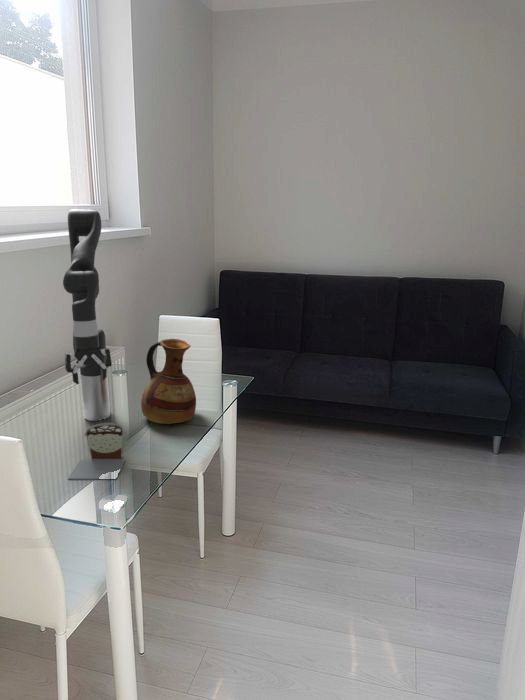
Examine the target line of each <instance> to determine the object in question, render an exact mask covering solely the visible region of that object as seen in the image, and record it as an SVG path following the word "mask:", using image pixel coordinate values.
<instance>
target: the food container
mask: <svg viewBox="0 0 525 700" xmlns="http://www.w3.org/2000/svg"><path fill="white" fill-rule="evenodd" d="M84 437H86V439H87V445H88V450H89V454H90V458H91V459H90V460H123V453H124V452H123V450H124V449H123V448H124V447H123V446H124V438H125V437H126V431H125V429H124V427H123V426H122V425H121V424H118V423H115V422H102V423H97V424H94V425H92V426H90V427H88V428H87V429H85V432H84Z"/></svg>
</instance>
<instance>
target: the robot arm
mask: <svg viewBox="0 0 525 700" xmlns="http://www.w3.org/2000/svg"><path fill="white" fill-rule="evenodd" d="M67 228H68V229H67V230H68V238H69V248H70V264H69V267H68V269H67V270H66V272H65V273H64V276H63V280H62V285H63V286H62V287H63V288H64V290H65V291H66V292H67V293H69V294H71V295H72V298H71V299H72V304H71V312H72V322H73V324H72V346H73V353H69V352H66V353H64V363H65V364H64V366H65V367H64V368H65V371H66V372H67V373H71V375H72V381H73V383H74V384H75V385H79V373H80V382H81V393H82V394H81V395H82V405H83V406H82V407H83V415H84V416H85V417H84V419H85V420H86V421H90V422H96V421H97V420H99V421H101V420H100V419H104V418H106V419H108V418H110V416H111V407H110V403H111V402H110V395H109V394H110V393H109V391H110V390H109V382H108V381H109V380H108V368H109V367H112V363H113V362H112V358H111V351H110V349H109V348H108V347H106V344H107V343H106V335H105V331H104V330H103V329H101V328H98V323H97V315H96V300H97V298H98V295H99V293H100V278H99V273H98V271H97V268H96V267H95V258H96V257H95V256H96V250H97V247H98V244H99V241H100V236H101V232H102V218H101V214H100V212H99V211H98V210H95V209H81V208H80V209H79V208H78V209H77V208H76V209H75V208H74V209H73V208H72V209H70V210H69V211H68V213H67ZM80 237H84V238H83V239H82V240H81V241H80ZM74 358H75V359H76V361H75V362H74V364H73V367H72V366H71V365H72V360H73V359H74ZM78 371H79V373H78ZM107 417H108V418H107ZM104 420H105V419H104ZM97 422H98V421H97Z"/></svg>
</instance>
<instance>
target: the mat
mask: <svg viewBox="0 0 525 700" xmlns="http://www.w3.org/2000/svg"><path fill="white" fill-rule="evenodd" d="M125 462H126V459H122V460H92V459H79V461H77V463H76V465H75V467H74V468H73V469H72V472H71V473H70V474H69V476H68V478H69V479H76V480H80V481H82V480H83V481H84V480H85V481H90V480H93V481H96V480H95V479H99V477H100V476H101V475H102V474H106V473H108V472H114V471H117V470H119V469H121V468H122V469H123V467H124V465H125ZM123 464H124V465H123ZM122 466H123V467H122ZM122 469H121V470H122ZM76 480H75V481H76Z"/></svg>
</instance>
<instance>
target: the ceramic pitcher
mask: <svg viewBox="0 0 525 700" xmlns="http://www.w3.org/2000/svg"><path fill="white" fill-rule="evenodd" d="M158 347H162V348H163V350H164V353H165V363H164V367H163V368H162V370H161V371H158V370H156V368H155V363H154V354H155V351H156V349H157V348H158ZM190 348H191V345H190V343H187V341H185V340H183V339H179V338H165V339H161V340H160V341H157V342H155V343H153V344H152V345H151V346H150V347H149V349H148V351H147V354H146V359H145V360H146V367H147V369H148V372H149V376H150V380H149V381H148V383H147V384H146V386H145V388H144V390H143V392H142V396H141V400H140V401H141V402H140V408H141V413H142V415H143V416H144V417H145V418H146V419H147V420H149V421H150V422H152V423H157V424H166V425H167V424H177V423H183V422H188V421H190V420H191V419H192V418H193V417H194V415H195V413H196V408H197V407H196V406H197V396H196V393H195V388H194V385H193V384H192V381H191V380H190V378H189V377H188V376H187V375H185V373H184V372H183V371H184V370H183V360H184V355H185V352H186V351H188V350H189V349H190Z"/></svg>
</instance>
